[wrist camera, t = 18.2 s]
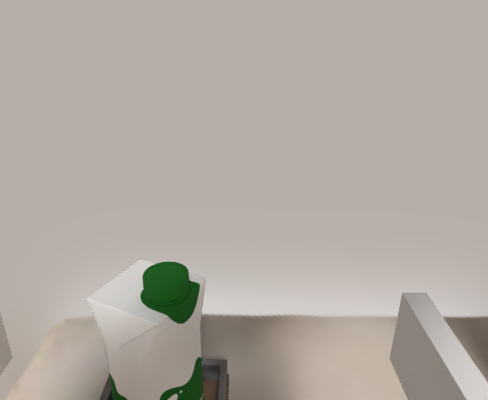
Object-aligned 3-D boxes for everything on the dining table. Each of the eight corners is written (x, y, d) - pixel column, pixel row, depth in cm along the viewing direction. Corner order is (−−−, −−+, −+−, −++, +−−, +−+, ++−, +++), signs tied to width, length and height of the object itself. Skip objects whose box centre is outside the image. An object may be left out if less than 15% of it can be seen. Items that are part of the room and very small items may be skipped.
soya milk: (172, 480, 39) (156, 310, 31) (100, 441, 43) (70, 279, 35) (217, 409, 46) (214, 256, 39) (152, 381, 50) (137, 235, 42)
